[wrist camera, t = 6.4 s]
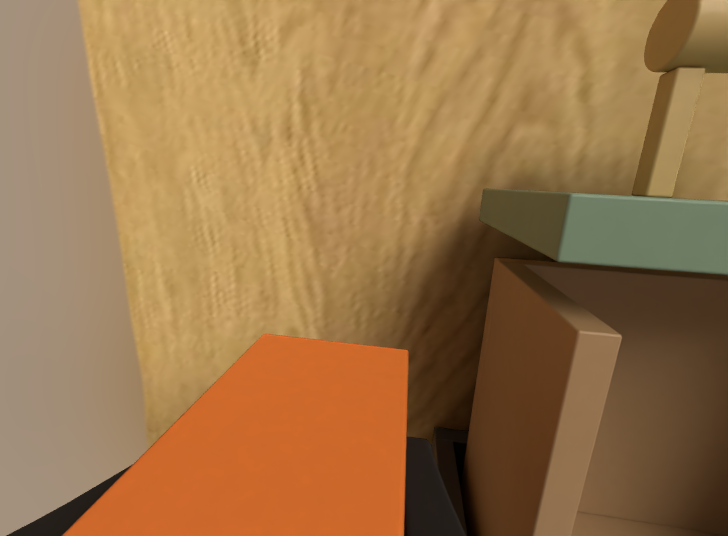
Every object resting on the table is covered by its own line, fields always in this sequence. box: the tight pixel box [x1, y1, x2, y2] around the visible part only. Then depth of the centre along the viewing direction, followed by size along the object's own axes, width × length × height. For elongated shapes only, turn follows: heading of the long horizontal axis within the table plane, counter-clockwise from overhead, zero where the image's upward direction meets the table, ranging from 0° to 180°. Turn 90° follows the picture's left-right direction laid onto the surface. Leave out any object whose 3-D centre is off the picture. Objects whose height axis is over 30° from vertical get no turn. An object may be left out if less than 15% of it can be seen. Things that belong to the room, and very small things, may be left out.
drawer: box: [460, 0, 728, 536], centre depth 10 cm, size 18×12×7 cm
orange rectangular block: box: [62, 334, 409, 536], centre depth 7 cm, size 5×4×6 cm
